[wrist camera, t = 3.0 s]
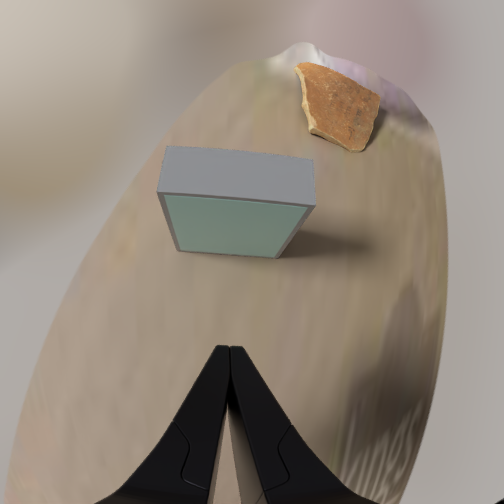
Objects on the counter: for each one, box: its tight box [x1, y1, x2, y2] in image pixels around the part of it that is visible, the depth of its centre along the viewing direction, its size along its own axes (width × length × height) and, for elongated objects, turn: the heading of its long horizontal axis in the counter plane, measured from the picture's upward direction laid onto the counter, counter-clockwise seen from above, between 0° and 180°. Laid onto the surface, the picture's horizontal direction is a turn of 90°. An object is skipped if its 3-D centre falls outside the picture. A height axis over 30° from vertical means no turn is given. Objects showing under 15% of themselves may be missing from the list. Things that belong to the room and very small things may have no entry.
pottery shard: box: [294, 62, 380, 153], centre depth 26 cm, size 10×9×2 cm
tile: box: [157, 146, 316, 259], centre depth 17 cm, size 2×7×8 cm, turn 87°
